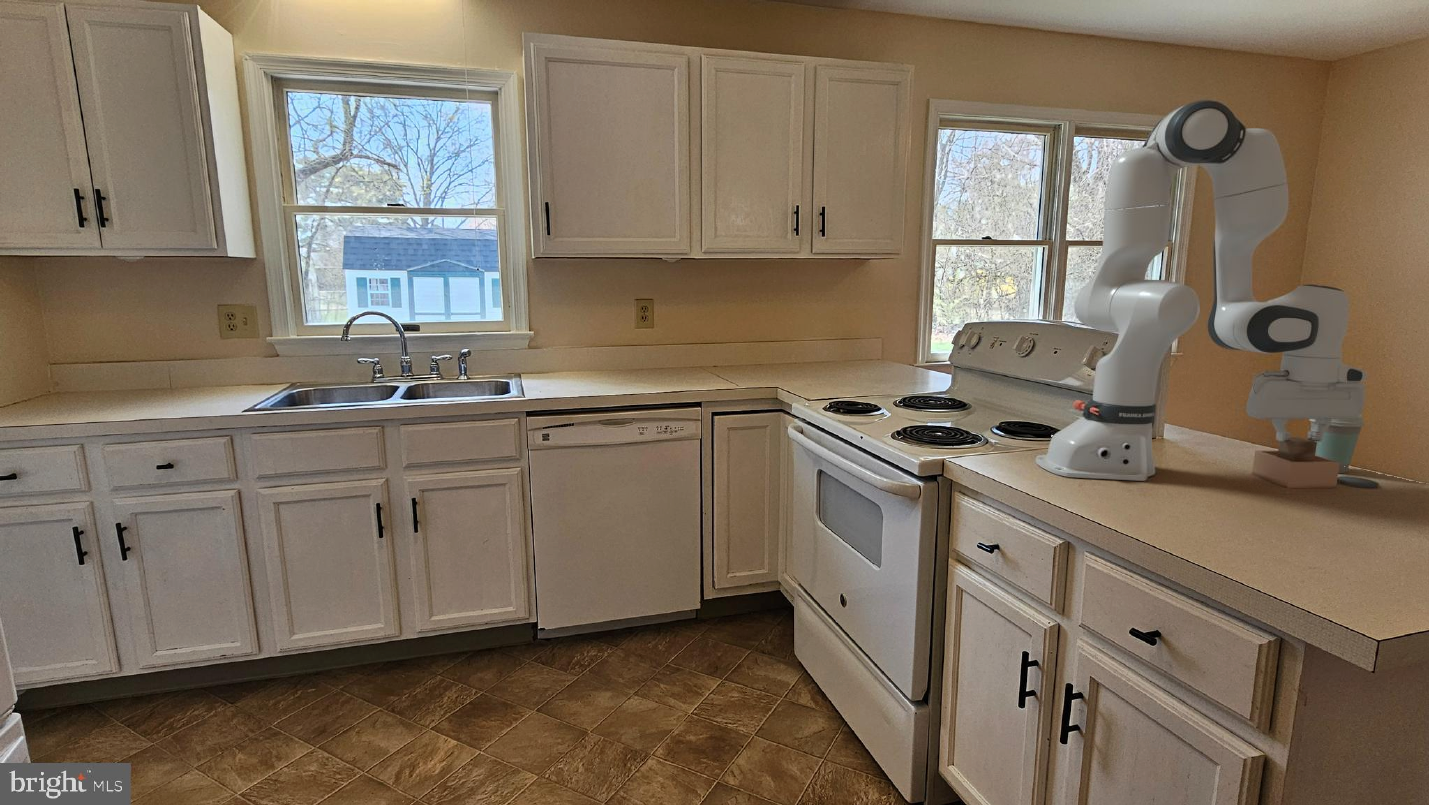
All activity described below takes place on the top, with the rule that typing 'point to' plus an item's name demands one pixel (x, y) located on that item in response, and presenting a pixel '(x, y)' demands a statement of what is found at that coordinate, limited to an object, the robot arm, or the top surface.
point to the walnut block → (1297, 450)
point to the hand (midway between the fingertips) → (1298, 440)
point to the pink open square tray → (1295, 471)
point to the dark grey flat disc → (1357, 482)
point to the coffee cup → (1339, 441)
